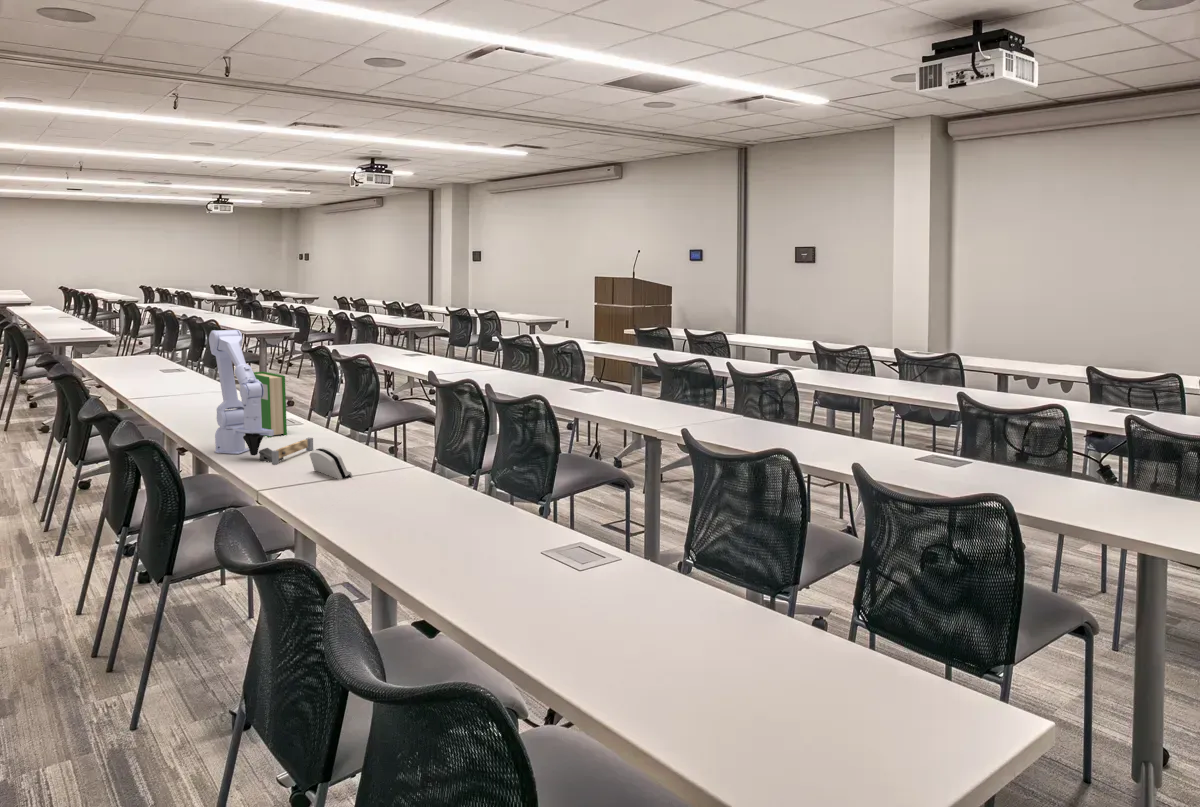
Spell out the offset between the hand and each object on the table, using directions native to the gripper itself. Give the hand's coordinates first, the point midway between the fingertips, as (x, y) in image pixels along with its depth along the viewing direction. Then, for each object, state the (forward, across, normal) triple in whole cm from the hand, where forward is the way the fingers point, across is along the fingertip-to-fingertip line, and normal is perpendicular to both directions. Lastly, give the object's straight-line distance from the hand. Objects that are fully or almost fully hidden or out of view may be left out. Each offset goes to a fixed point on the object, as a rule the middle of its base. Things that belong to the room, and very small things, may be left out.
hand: (254, 454), depth 300 cm
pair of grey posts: (+1, +11, +7) cm, 13 cm away
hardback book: (+2, -21, +44) cm, 48 cm away
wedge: (+2, +7, 0) cm, 7 cm away
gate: (0, +11, +7) cm, 13 cm away
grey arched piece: (+2, +35, -14) cm, 38 cm away
